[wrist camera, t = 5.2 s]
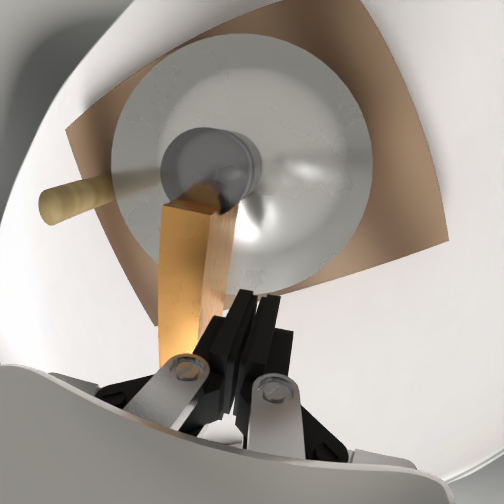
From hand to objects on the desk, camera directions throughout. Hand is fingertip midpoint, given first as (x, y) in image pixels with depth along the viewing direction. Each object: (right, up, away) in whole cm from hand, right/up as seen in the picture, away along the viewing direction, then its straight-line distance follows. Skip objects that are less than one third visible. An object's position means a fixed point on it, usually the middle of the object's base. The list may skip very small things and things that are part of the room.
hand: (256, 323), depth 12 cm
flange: (-1, +6, +2) cm, 6 cm away
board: (-1, +8, +3) cm, 8 cm away
